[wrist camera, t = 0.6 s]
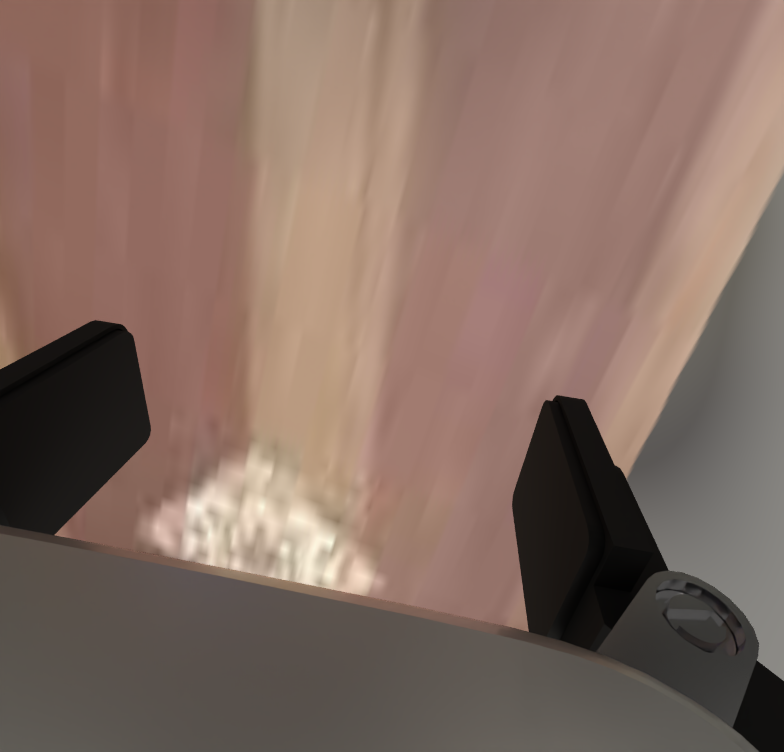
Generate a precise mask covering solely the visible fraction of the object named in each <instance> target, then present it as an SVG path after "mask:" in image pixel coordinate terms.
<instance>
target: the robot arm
mask: <svg viewBox="0 0 784 752" xmlns="http://www.w3.org/2000/svg"><path fill="white" fill-rule="evenodd" d="M150 432H151V426H150V421H149V415H148V410H147V405H146V400H145V394H144V389H143V384H142V379H141V373H140V368H139V363H138V358H137V352H136V347H135V342H134V338H133V336H132V334H131V333H129V332H128V331H127V329H126V328H125V326H123V325H121V324H116V323H109V322H103V321H96V320H95V321H91V322H89V323H87V324H85V325H84V326H82V327H80V328H78V329H76V330H74V331H72V332H70V333H68V334H67V335H65V336H63V337H61V338H59V339H57V340H55V341H53V342H51V343H50V344H48V345H46V346H44V347H42V348H40V349H38V350H36V351H34V352H32V353H31V354H29V355H27V356H25V357H23V358H21V359H19V360H17V361H15V362H14V363H12V364H10V365H8V366H6V367H4V368H2V369H0V752H784V681H783V680H781V679H780V678H779V677H778V676H776V675H775V674H774V673H772V672H771V671H770V670H769V669H767V668H766V667H765V666H763V665H762V664H761V663H759V662H758V661H757V658H758V650H759V642H758V640H757V637H756V634H755V631H754V628H753V627H752V625H751V624H750V622H749V621H748V619H747V618H746V616H745V615H744V613H743V612H742V611H741V610H740V609H739V608H738V607H737V606H736V605H735V604H734V603H733V602H732V601H731V600H730V599H729V598H728V597H727V596H725V595H724V594H723V593H721V592H720V591H719V590H717V589H716V588H715V587H713V586H711V585H710V584H708V583H706V582H704V581H702V580H701V579H699V578H697V577H694V576H691V575H688V574H685V573H682V572H675V571H669V570H668V568H667V566H666V564H665V562H664V560H663V558H662V555H661V553H660V551H659V549H658V547H657V544H656V542H655V540H654V538H653V536H652V534H651V532H650V529H649V527H648V525H647V523H646V521H645V519H644V516H643V514H642V512H641V510H640V508H639V506H638V504H637V501H636V499H635V497H634V495H633V493H632V491H631V489H630V487H629V484H628V482H627V480H626V478H625V476H624V474H623V472H622V471H621V469H620V468H619V467H617V466H615V465H614V463H613V461H612V459H611V456H610V454H609V452H608V450H607V448H606V445H605V443H604V441H603V439H602V437H601V434H600V432H599V430H598V428H597V425H596V423H595V421H594V419H593V417H592V414H591V412H590V410H589V408H588V405H587V403H586V402H585V400H583V399H577V398H571V397H565V396H558V395H557V396H555V398H554V399H553V401H548V400H546V401H545V402H544V403H543V406H542V409H541V412H540V415H539V418H538V421H537V424H536V427H535V430H534V433H533V436H532V439H531V442H530V445H529V448H528V451H527V454H526V457H525V460H524V463H523V466H522V469H521V472H520V475H519V478H518V481H517V484H516V487H515V490H514V494H513V501H512V509H513V516H514V524H515V531H516V539H517V546H518V554H519V561H520V569H521V576H522V584H523V591H524V599H525V606H526V614H527V621H528V629H529V632H527V631H523V630H519V629H515V628H511V627H507V626H503V625H498V624H493V623H489V622H484V621H480V620H475V619H470V618H466V617H461V616H457V615H452V614H447V613H443V612H438V611H434V610H429V609H424V608H420V607H415V606H411V605H406V604H401V603H396V602H391V601H386V600H381V599H376V598H371V597H366V596H361V595H356V594H351V593H346V592H341V591H336V590H331V589H326V588H321V587H316V586H311V585H306V584H301V583H296V582H291V581H286V580H281V579H276V578H271V577H266V576H261V575H256V574H251V573H246V572H241V571H236V570H230V569H225V568H220V567H215V566H210V565H205V564H200V563H195V562H190V561H185V560H179V559H174V558H169V557H164V556H159V555H154V554H148V553H143V552H138V551H133V550H128V549H123V548H118V547H112V546H107V545H102V544H97V543H92V542H86V541H81V540H76V539H70V538H65V537H60V536H55V534H56V533H57V532H58V530H59V529H60V528H61V527H62V526H63V525H64V524H65V523H66V522H67V521H68V520H69V519H70V518H71V517H72V516H73V515H74V514H75V513H76V512H77V511H78V510H79V509H80V508H81V507H82V506H83V505H84V504H85V503H86V502H87V501H88V500H89V499H90V498H91V497H92V496H93V495H94V494H95V493H96V492H97V491H98V490H99V489H100V488H101V487H102V486H103V485H104V484H105V483H106V482H107V481H108V480H109V479H110V478H111V477H112V476H113V475H114V474H115V473H116V472H117V471H118V470H119V469H120V468H121V467H122V466H123V465H124V464H125V463H126V462H127V461H128V460H129V459H130V458H131V457H132V456H133V455H134V454H135V453H136V452H137V451H138V450H139V449H140V448H141V447H142V446H143V445H144V444H145V443H146V442H147V440H148V438H149V436H150Z"/></svg>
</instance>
